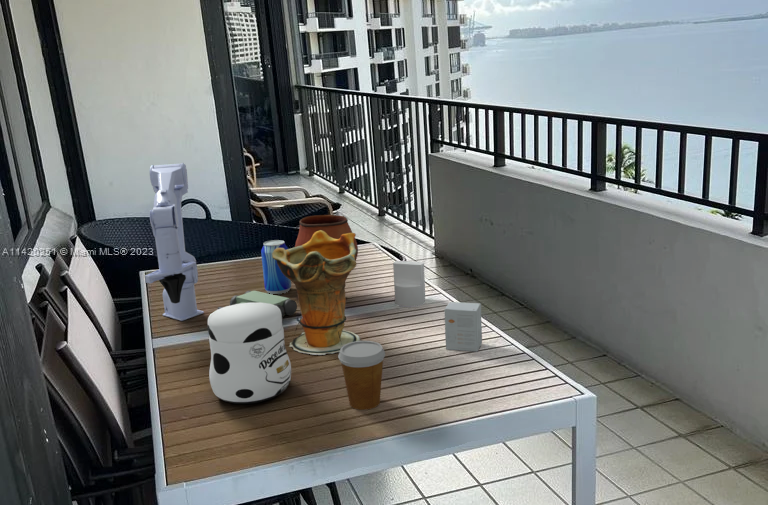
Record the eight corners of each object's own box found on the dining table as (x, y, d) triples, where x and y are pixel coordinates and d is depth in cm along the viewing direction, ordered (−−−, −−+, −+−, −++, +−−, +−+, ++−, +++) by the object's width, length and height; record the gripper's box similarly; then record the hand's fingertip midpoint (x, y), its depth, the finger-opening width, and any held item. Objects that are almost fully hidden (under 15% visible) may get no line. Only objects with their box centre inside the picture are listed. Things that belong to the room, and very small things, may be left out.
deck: (217, 316, 198) (215, 302, 196) (254, 302, 208) (253, 288, 207) (260, 328, 187) (259, 312, 185) (297, 312, 197) (296, 297, 196)
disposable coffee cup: (341, 394, 145) (337, 341, 142) (385, 390, 146) (382, 338, 143) (342, 415, 136) (338, 359, 133) (389, 411, 137) (386, 356, 134)
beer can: (286, 295, 214) (282, 245, 210) (261, 295, 215) (256, 245, 211) (295, 287, 222) (291, 239, 217) (270, 287, 223) (266, 239, 219)
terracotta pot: (338, 313, 195) (332, 227, 189) (284, 305, 205) (277, 223, 198) (372, 293, 211) (368, 214, 205) (321, 286, 221) (315, 210, 214)
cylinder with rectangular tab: (390, 305, 199) (388, 266, 196) (401, 296, 207) (399, 257, 204) (419, 308, 196) (418, 267, 193) (429, 298, 204) (428, 259, 201)
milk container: (299, 402, 143) (291, 321, 138) (214, 417, 138) (203, 333, 134) (286, 370, 159) (279, 296, 154) (210, 382, 154) (200, 307, 150)
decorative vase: (264, 355, 167) (256, 242, 161) (306, 326, 188) (301, 226, 182) (342, 363, 160) (337, 246, 154) (377, 333, 181) (374, 228, 175)
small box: (482, 343, 168) (481, 303, 166) (477, 352, 163) (477, 310, 161) (450, 341, 171) (449, 301, 168) (445, 349, 166) (443, 308, 163)
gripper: (153, 260, 169) (160, 312, 172) (201, 247, 180) (207, 296, 184) (137, 257, 173) (144, 308, 177) (184, 244, 184) (190, 292, 188)
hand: (175, 302), depth 180 cm, fingers closed
